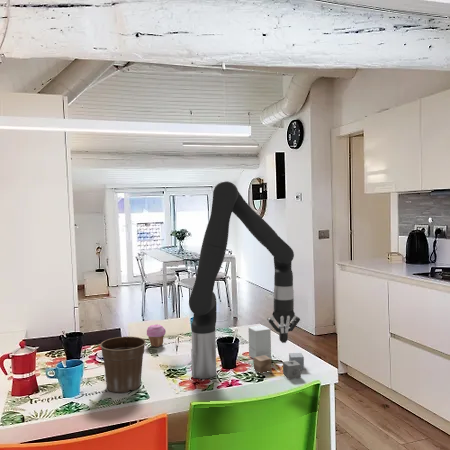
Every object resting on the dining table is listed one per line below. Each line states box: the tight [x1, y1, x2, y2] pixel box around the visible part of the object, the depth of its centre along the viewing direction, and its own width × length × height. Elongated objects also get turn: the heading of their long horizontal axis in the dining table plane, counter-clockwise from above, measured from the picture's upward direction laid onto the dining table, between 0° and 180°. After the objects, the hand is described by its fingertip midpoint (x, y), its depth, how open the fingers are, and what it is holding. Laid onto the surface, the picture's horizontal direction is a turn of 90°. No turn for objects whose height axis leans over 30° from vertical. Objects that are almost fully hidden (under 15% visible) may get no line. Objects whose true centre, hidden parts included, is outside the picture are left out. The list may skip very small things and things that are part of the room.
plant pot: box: [99, 336, 147, 394], centre depth 160 cm, size 16×16×16 cm
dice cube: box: [282, 360, 302, 380], centre depth 167 cm, size 5×5×5 cm
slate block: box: [288, 352, 305, 370], centre depth 176 cm, size 5×5×5 cm
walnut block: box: [253, 355, 272, 374], centre depth 173 cm, size 5×5×5 cm
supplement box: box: [248, 324, 272, 360], centre depth 188 cm, size 7×7×13 cm
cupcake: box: [146, 323, 166, 348], centre depth 207 cm, size 9×9×10 cm
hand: (283, 342), depth 167 cm, fingers closed
